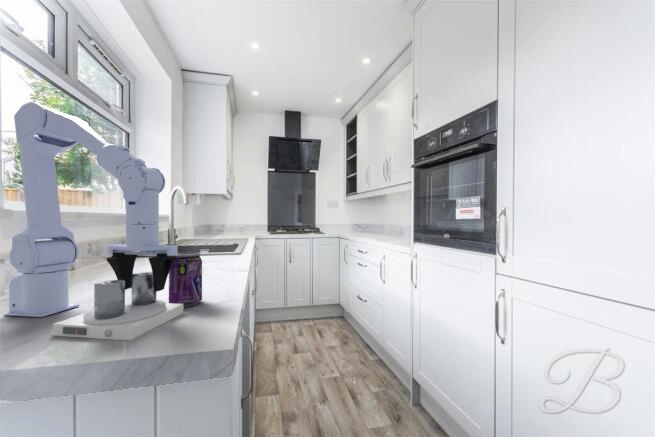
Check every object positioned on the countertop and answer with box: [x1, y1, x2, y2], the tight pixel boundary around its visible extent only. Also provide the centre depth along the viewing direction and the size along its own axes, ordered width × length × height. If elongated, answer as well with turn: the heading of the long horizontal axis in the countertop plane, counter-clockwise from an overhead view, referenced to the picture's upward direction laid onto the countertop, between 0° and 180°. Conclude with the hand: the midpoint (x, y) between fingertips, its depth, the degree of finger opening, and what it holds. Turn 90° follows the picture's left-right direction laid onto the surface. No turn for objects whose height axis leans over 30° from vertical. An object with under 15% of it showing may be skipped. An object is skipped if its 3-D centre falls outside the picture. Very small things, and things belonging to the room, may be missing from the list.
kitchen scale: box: [52, 299, 184, 341], centre depth 55 cm, size 15×14×3 cm
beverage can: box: [168, 251, 203, 308], centre depth 68 cm, size 7×7×12 cm
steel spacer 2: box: [130, 271, 157, 306], centre depth 60 cm, size 4×4×6 cm
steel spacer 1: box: [93, 279, 126, 320], centre depth 52 cm, size 4×4×6 cm
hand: (142, 289), depth 59 cm, fingers open, 7 cm apart
